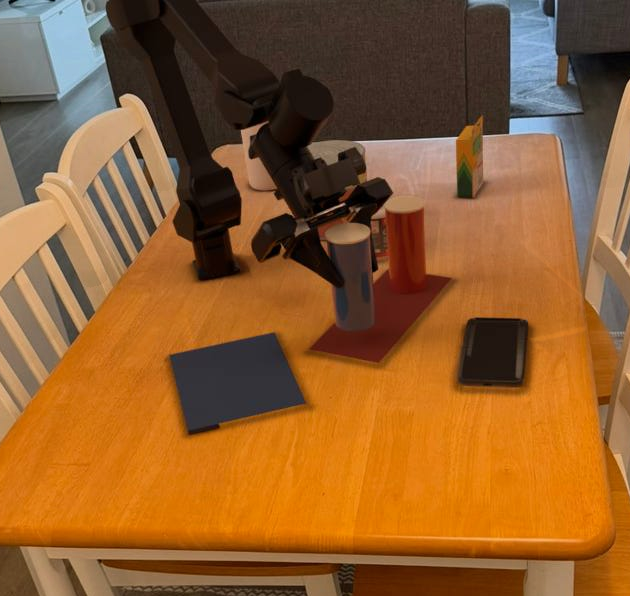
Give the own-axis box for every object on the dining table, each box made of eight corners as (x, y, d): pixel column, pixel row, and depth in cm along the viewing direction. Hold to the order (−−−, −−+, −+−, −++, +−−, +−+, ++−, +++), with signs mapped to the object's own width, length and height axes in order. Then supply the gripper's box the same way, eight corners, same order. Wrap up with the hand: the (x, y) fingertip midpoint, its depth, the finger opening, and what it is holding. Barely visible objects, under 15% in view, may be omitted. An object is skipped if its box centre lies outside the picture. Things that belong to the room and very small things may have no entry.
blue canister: (329, 316, 114) (320, 227, 106) (369, 307, 115) (362, 219, 107) (340, 335, 110) (331, 245, 102) (382, 326, 111) (376, 236, 103)
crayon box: (467, 181, 155) (466, 113, 148) (483, 182, 154) (484, 114, 147) (456, 197, 150) (455, 128, 143) (473, 198, 149) (473, 128, 142)
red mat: (388, 271, 130) (388, 268, 129) (452, 281, 126) (452, 277, 125) (309, 352, 113) (308, 348, 113) (379, 366, 109) (378, 362, 109)
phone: (528, 318, 114) (523, 382, 102) (528, 326, 114) (523, 390, 103) (467, 317, 115) (455, 379, 103) (467, 324, 116) (455, 387, 104)
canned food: (376, 211, 148) (371, 139, 140) (364, 240, 139) (357, 164, 132) (310, 212, 150) (302, 140, 142) (295, 240, 141) (284, 165, 134)
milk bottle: (289, 190, 158) (274, 72, 146) (247, 192, 159) (227, 75, 146) (293, 174, 164) (278, 60, 152) (252, 177, 165) (234, 63, 152)
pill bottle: (392, 262, 132) (388, 198, 126) (355, 261, 133) (349, 198, 127) (399, 245, 136) (395, 182, 130) (363, 245, 138) (358, 182, 132)
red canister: (384, 281, 126) (378, 199, 119) (420, 273, 127) (416, 192, 120) (396, 297, 122) (391, 214, 115) (433, 289, 123) (430, 206, 116)
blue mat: (170, 358, 115) (169, 354, 114) (275, 336, 117) (274, 332, 117) (188, 434, 101) (187, 430, 101) (307, 407, 104) (306, 403, 103)
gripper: (249, 153, 96) (323, 277, 96) (378, 109, 105) (445, 222, 105) (222, 205, 106) (289, 317, 106) (342, 160, 114) (403, 264, 114)
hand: (358, 278), depth 107 cm, fingers closed on blue canister, 5 cm apart
